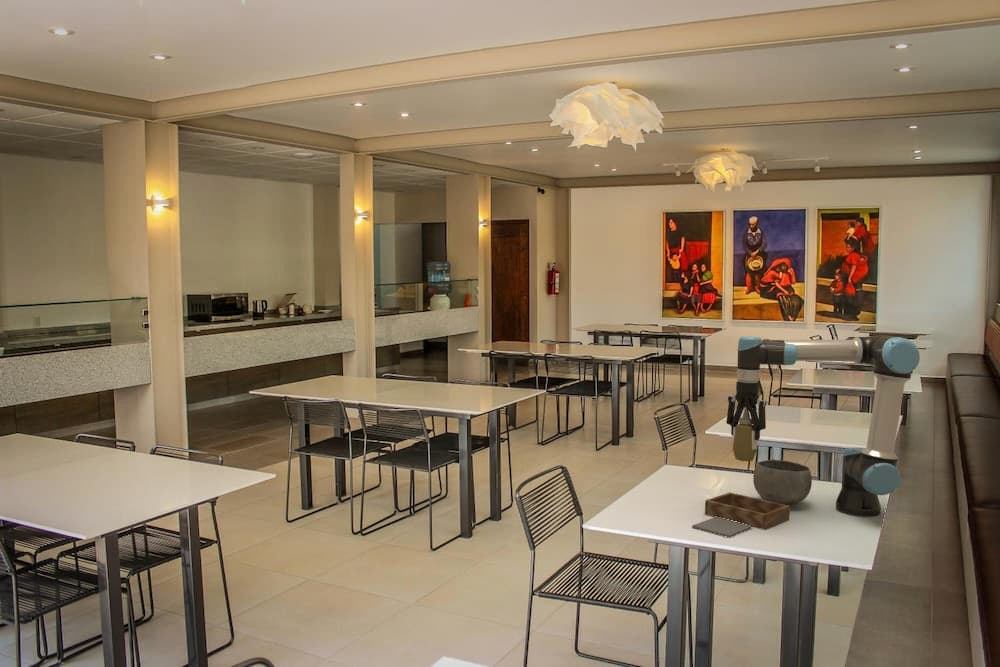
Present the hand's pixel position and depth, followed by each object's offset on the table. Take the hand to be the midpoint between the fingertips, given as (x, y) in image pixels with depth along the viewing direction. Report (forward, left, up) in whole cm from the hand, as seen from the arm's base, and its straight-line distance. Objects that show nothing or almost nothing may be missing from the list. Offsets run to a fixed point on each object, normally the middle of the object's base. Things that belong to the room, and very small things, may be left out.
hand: (744, 447), depth 287 cm
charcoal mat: (-1, +15, -25) cm, 30 cm away
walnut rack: (0, -3, -25) cm, 26 cm away
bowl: (0, -28, -26) cm, 38 cm away
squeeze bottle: (0, 0, -5) cm, 5 cm away
